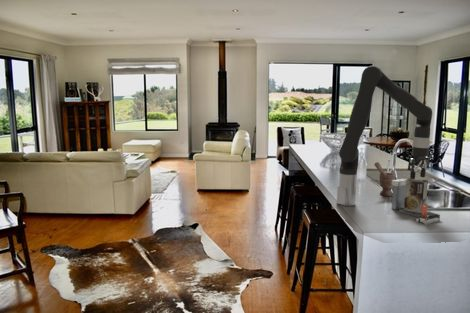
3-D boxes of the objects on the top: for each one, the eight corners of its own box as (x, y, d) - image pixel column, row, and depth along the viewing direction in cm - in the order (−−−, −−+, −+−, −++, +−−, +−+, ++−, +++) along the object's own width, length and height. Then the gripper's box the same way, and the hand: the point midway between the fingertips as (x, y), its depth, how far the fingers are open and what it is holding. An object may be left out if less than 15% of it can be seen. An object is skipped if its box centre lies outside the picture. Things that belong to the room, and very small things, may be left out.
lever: (424, 223, 179) (425, 206, 178) (419, 221, 182) (420, 205, 180) (427, 222, 181) (428, 206, 179) (422, 221, 183) (423, 204, 181)
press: (425, 224, 178) (428, 192, 175) (380, 210, 199) (382, 182, 196) (446, 218, 187) (449, 187, 185) (401, 205, 208) (403, 178, 205)
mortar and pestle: (378, 197, 224) (380, 164, 221) (370, 193, 233) (373, 161, 230) (396, 196, 226) (398, 163, 223) (388, 192, 235) (390, 161, 231)
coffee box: (426, 211, 195) (428, 180, 192) (421, 214, 190) (424, 182, 187) (407, 207, 201) (410, 177, 198) (403, 210, 196) (405, 179, 194)
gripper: (419, 148, 183) (416, 181, 186) (436, 146, 190) (432, 178, 193) (405, 146, 189) (402, 178, 192) (422, 144, 197) (419, 175, 199)
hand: (417, 177), depth 193 cm, fingers open, 8 cm apart
